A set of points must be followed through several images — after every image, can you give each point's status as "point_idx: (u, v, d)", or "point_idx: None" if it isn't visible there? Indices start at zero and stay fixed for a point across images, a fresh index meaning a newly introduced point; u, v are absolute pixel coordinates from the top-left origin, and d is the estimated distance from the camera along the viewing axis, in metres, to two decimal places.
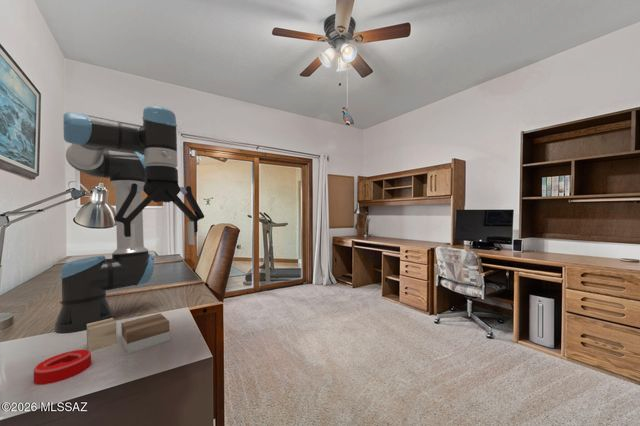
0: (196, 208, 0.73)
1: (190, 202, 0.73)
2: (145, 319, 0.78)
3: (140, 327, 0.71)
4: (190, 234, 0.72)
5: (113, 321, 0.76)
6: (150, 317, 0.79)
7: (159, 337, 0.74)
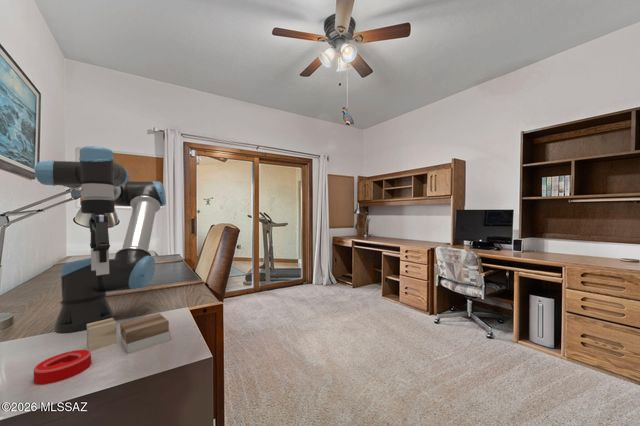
0: (96, 237, 0.70)
1: None
2: (144, 319, 0.78)
3: (140, 328, 0.71)
4: None
5: (113, 321, 0.76)
6: (149, 317, 0.79)
7: (159, 337, 0.74)
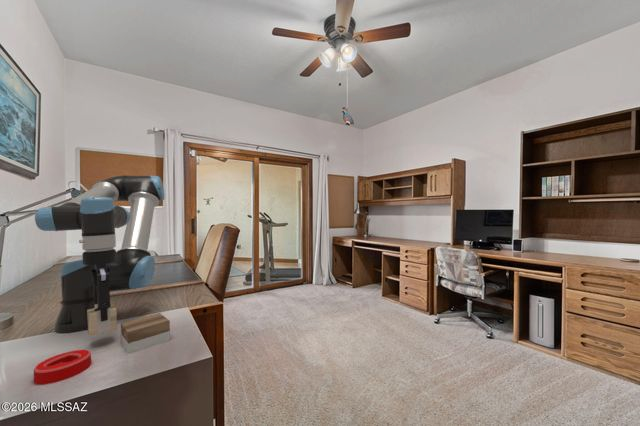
0: (98, 297, 0.71)
1: None
2: (145, 318, 0.78)
3: (141, 327, 0.71)
4: None
5: (113, 307, 0.77)
6: (150, 317, 0.79)
7: (159, 337, 0.73)
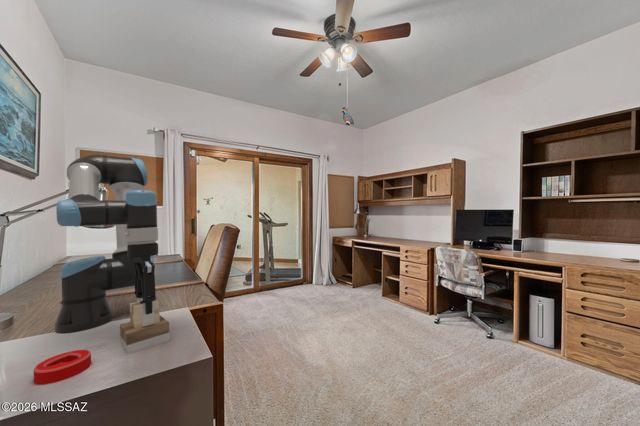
0: (144, 289, 0.71)
1: None
2: None
3: (140, 329, 0.71)
4: None
5: (155, 300, 0.76)
6: None
7: (159, 338, 0.73)
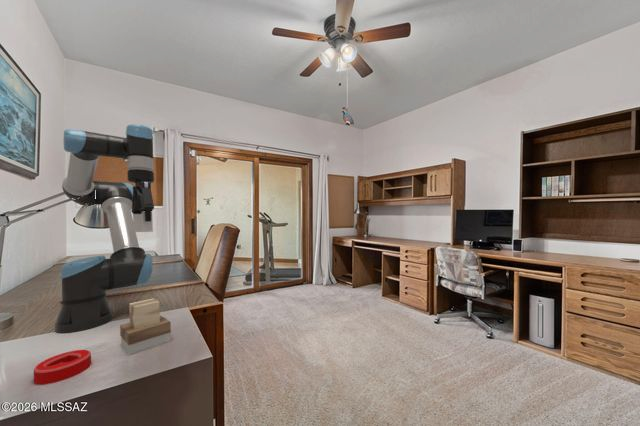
0: (143, 200, 0.83)
1: None
2: None
3: (142, 329, 0.71)
4: None
5: (156, 301, 0.76)
6: None
7: (160, 338, 0.73)
